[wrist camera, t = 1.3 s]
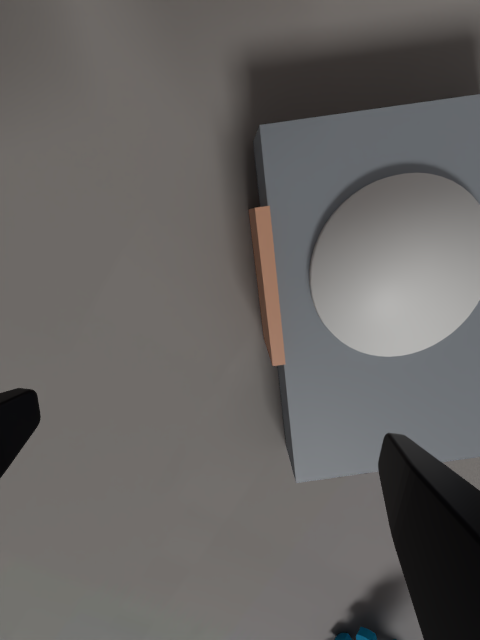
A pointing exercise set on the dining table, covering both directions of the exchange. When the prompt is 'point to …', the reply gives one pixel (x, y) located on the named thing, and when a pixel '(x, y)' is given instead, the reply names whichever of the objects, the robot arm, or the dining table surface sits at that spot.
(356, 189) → the dock unit
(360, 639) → the gear
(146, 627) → the dining table surface
